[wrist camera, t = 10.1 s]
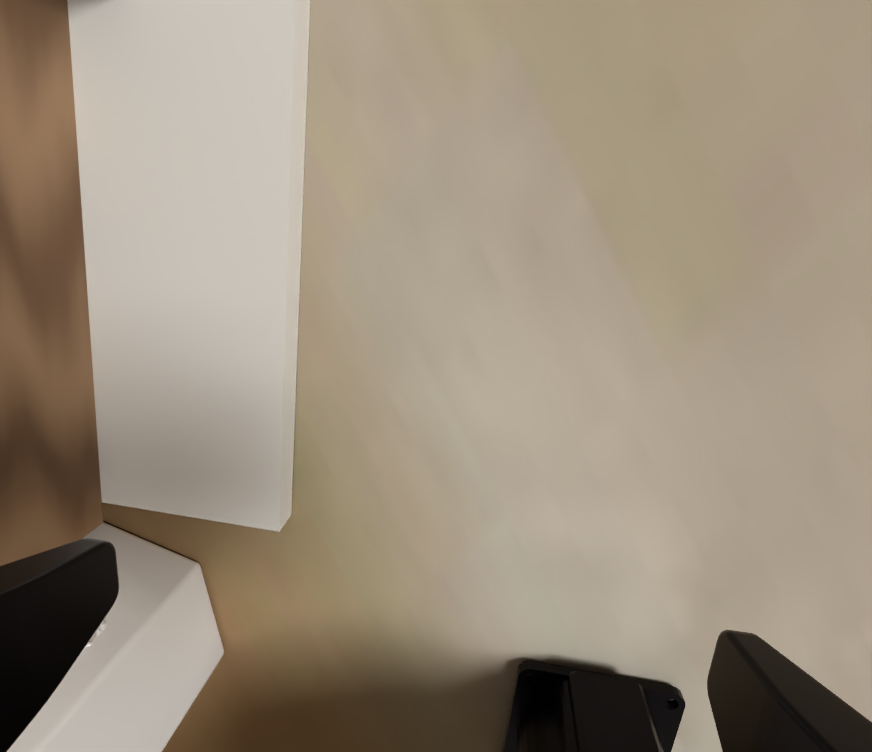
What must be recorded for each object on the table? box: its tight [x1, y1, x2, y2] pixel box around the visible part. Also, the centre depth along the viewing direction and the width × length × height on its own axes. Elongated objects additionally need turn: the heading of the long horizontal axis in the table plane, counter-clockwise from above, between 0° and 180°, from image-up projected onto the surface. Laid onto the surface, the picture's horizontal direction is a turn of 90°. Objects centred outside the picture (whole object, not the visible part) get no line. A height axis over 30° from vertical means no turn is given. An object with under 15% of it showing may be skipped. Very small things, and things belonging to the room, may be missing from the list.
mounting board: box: [67, 0, 310, 532], centre depth 18 cm, size 23×18×1 cm
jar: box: [7, 522, 224, 752], centre depth 18 cm, size 9×8×12 cm
